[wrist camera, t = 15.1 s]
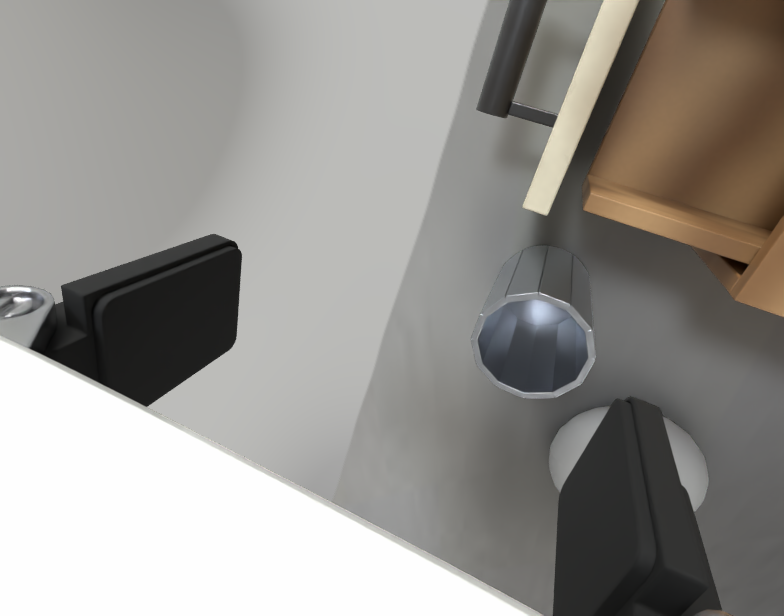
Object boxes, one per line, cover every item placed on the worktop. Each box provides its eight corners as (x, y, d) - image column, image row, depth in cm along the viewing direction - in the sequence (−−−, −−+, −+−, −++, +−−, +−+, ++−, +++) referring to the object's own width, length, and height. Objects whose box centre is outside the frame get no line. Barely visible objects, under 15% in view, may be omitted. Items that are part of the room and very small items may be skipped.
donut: (700, 513, 32) (704, 397, 29) (712, 554, 30) (718, 430, 26) (555, 497, 37) (543, 394, 33) (553, 532, 34) (540, 422, 30)
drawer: (473, 163, 28) (440, 180, 21) (563, -115, 21) (556, -216, 15) (777, 261, 24) (852, 319, 17) (995, -40, 18) (1245, -129, 11)
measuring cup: (486, 308, 32) (457, 370, 25) (516, 232, 29) (495, 276, 22) (567, 340, 31) (563, 416, 23) (606, 263, 28) (617, 321, 20)
